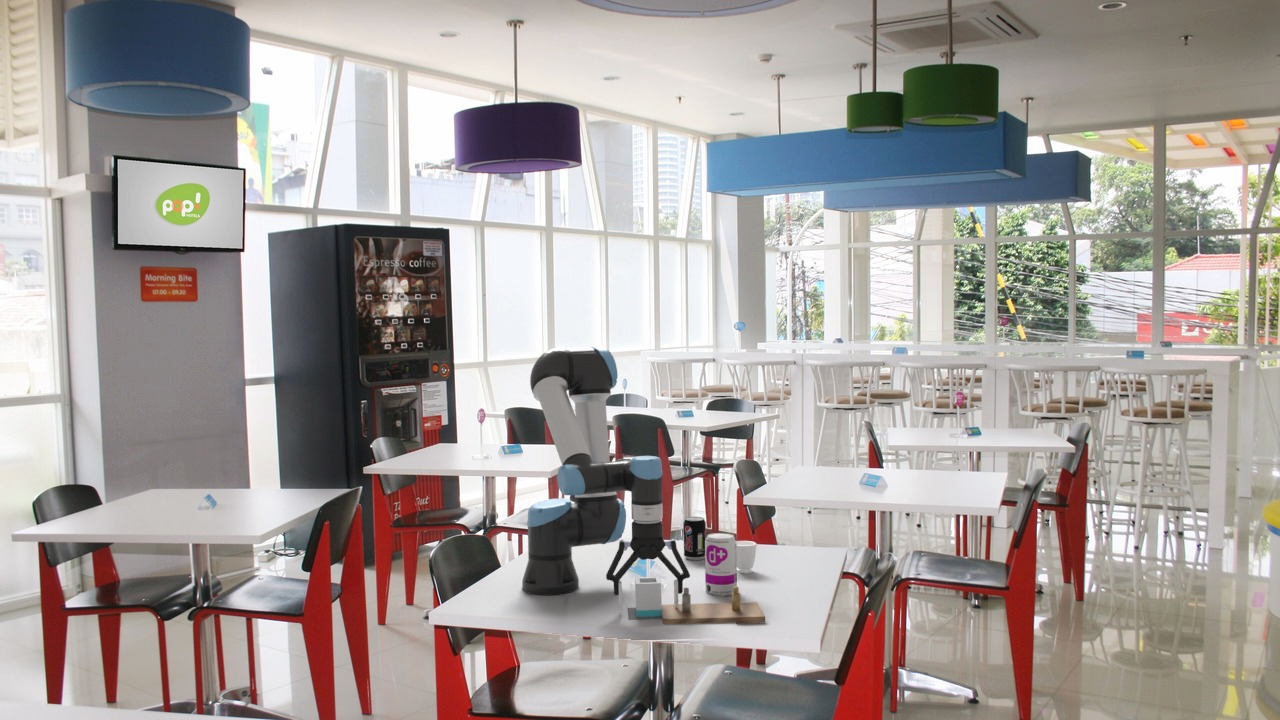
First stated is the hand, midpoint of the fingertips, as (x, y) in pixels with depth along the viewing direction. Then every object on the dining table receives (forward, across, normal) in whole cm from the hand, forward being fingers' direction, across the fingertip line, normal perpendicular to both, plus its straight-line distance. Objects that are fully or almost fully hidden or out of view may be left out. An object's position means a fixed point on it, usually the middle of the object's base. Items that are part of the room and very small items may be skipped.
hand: (648, 607), depth 238 cm
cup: (+2, +28, +40) cm, 49 cm away
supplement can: (+2, +20, +18) cm, 27 cm away
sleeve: (+1, 0, 0) cm, 1 cm away
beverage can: (+2, +17, +57) cm, 60 cm away
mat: (+2, 0, 0) cm, 2 cm away
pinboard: (+2, +15, -3) cm, 15 cm away
